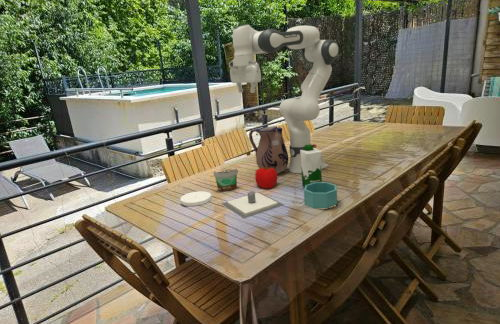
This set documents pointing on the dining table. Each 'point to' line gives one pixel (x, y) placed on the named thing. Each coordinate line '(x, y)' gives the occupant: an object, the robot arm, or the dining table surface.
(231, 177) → the food container
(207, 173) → the dining table surface
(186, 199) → the plastic lid
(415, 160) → the dining table surface
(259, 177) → the tomato
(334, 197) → the teal octagonal bowl
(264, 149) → the ceramic pitcher
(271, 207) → the rubber mat
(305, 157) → the milk carton
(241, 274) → the dining table surface
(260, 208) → the cover board
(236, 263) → the dining table surface
